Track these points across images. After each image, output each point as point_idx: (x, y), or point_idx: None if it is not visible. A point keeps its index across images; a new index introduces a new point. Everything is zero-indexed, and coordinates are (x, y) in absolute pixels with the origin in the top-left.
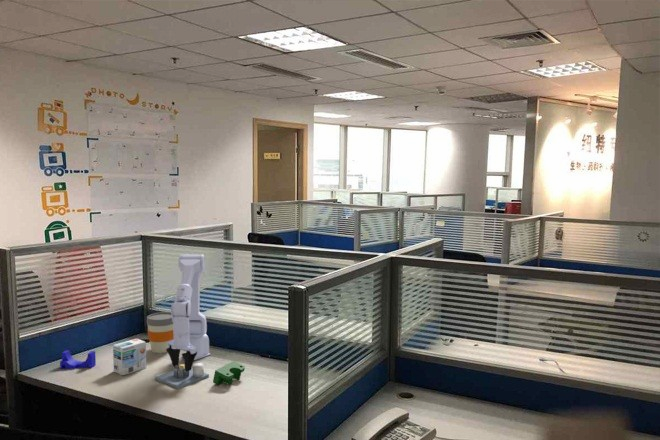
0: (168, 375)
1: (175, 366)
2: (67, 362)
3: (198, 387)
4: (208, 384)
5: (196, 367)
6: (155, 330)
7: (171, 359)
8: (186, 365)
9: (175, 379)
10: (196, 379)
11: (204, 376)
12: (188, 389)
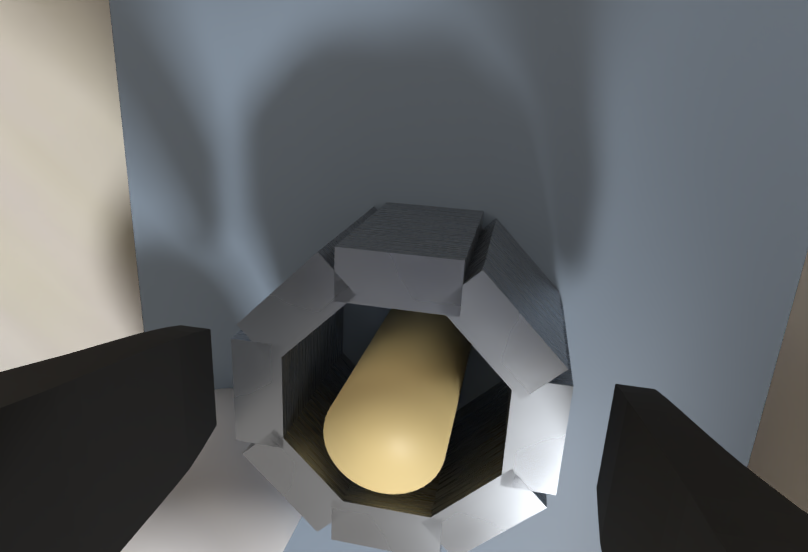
0: (645, 219)
1: (522, 364)
2: None
3: (2, 205)
4: (4, 340)
5: None
6: None
7: (717, 469)
8: (49, 360)
9: (382, 159)
10: None
11: None
12: (29, 74)
